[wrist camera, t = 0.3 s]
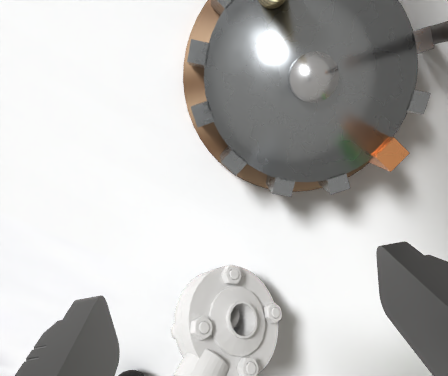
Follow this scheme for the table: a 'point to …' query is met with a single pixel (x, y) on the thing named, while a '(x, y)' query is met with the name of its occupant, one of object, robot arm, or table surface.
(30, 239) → the table surface
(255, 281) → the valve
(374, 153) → the sprocket wheel
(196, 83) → the sprocket base
